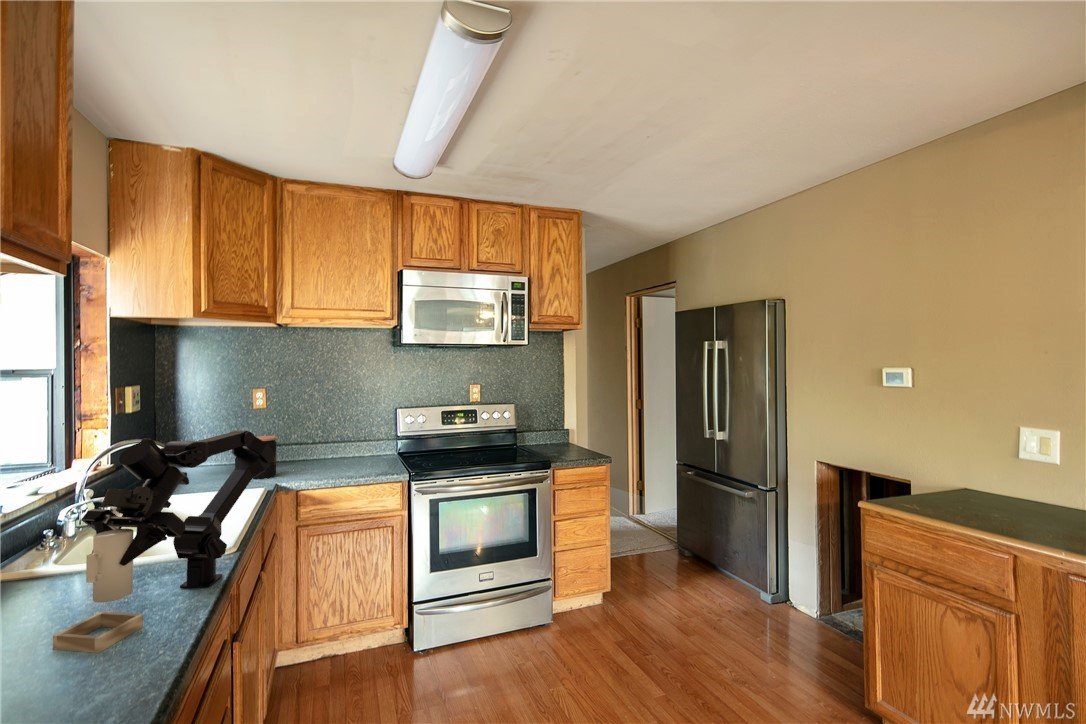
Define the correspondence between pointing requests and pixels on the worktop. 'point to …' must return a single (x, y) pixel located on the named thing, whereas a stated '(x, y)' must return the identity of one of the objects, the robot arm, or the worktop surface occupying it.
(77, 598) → the worktop surface
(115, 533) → the jug
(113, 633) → the holder
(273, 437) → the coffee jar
